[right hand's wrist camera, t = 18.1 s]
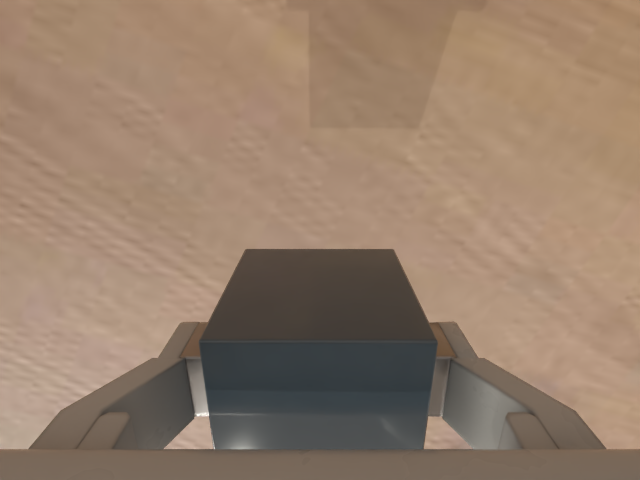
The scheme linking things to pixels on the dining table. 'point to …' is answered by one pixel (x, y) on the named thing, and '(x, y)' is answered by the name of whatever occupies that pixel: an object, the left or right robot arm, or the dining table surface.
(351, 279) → the blue-gray cube
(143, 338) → the dining table surface
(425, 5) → the dining table surface
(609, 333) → the dining table surface
